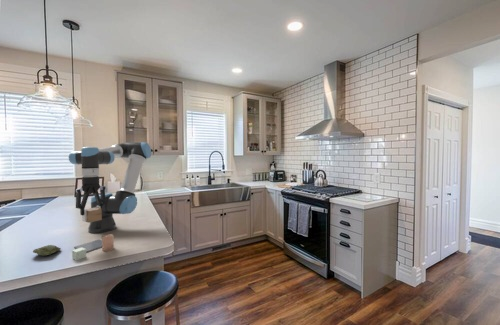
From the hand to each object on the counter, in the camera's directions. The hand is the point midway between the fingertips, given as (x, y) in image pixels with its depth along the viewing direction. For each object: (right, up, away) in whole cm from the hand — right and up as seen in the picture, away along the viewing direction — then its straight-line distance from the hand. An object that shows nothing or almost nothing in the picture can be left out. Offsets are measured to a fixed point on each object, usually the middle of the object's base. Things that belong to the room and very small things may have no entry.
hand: (91, 219), depth 119 cm
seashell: (-18, -16, -7) cm, 26 cm away
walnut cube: (+1, 0, 0) cm, 1 cm away
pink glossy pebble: (+11, -15, -3) cm, 19 cm away
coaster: (0, -15, 0) cm, 15 cm away
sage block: (+3, -15, -13) cm, 20 cm away
